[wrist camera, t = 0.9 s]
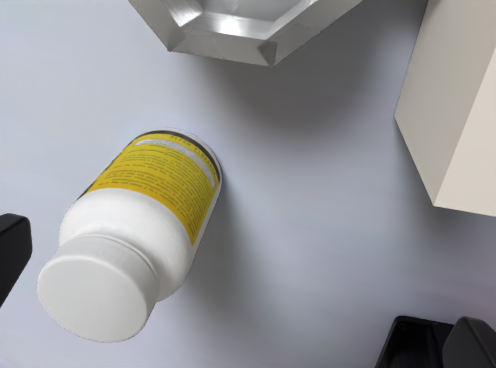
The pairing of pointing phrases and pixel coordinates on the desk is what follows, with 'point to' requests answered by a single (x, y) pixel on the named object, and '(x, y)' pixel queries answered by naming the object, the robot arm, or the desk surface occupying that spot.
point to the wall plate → (453, 104)
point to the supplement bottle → (131, 236)
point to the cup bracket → (239, 26)
